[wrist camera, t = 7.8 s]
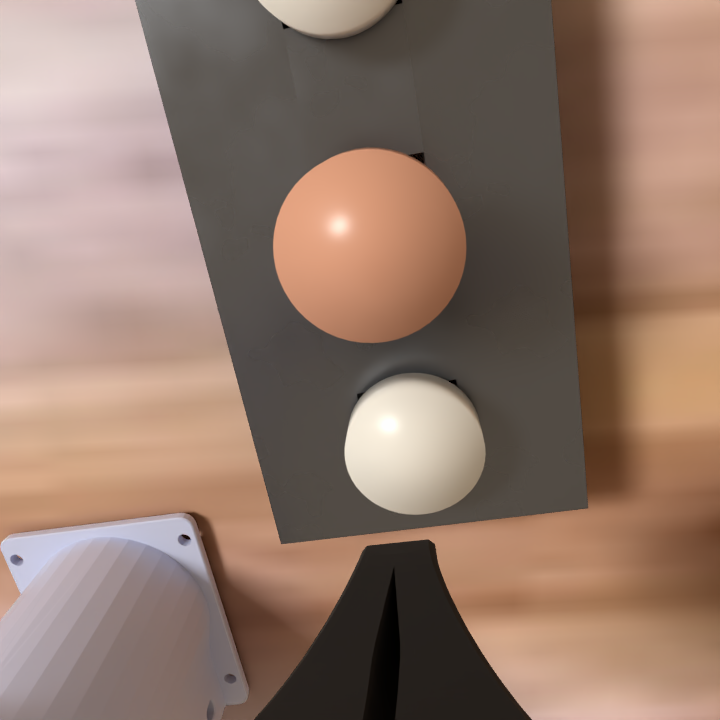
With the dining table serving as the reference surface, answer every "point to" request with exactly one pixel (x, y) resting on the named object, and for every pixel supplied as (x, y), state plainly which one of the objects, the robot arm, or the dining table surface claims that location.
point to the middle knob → (369, 245)
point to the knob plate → (467, 187)
